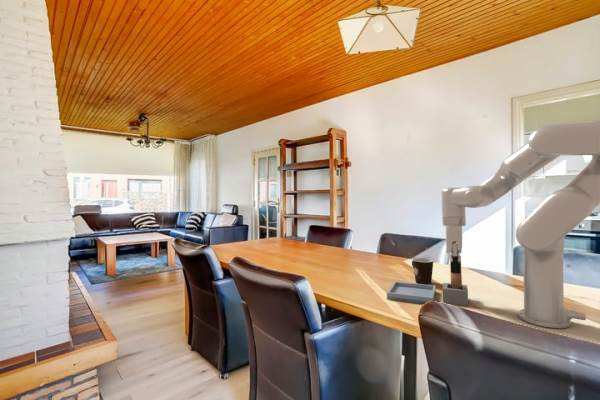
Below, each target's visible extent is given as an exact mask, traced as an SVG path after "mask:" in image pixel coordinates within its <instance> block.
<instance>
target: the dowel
mask: <svg viewBox="0 0 600 400" xmlns="http://www.w3.org/2000/svg"><path fill="white" fill-rule="evenodd" d="M457 256H458V255H457ZM459 256H460V262H461V263H462V255H461V254H460V255H459ZM449 270H450V273H449V274H450V283H451V288H452V289H462V285H463V275H462V272H461V273H451V254H449Z"/></svg>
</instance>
